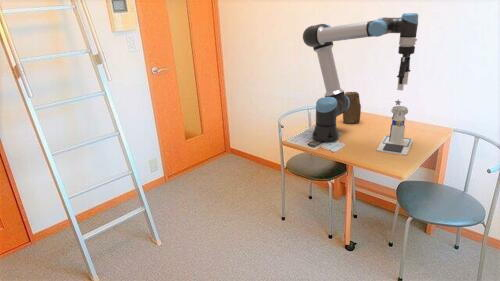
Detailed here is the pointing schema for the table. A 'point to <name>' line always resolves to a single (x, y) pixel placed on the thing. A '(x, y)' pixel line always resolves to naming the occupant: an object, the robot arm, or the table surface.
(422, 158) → the table surface
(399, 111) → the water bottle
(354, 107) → the block
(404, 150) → the stamp station
